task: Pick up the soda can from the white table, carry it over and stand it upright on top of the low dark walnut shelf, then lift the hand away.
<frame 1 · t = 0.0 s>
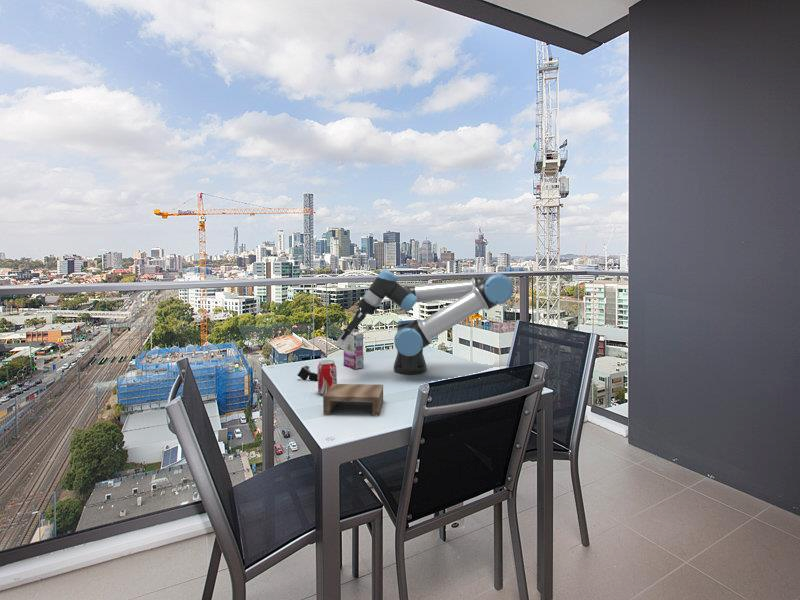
hand: (341, 342, 173), 15 cm above the table, tool tilted 35°, fingers open, 13 cm apart
lighter: (308, 380, 171), on the table
soda can: (327, 393, 153), on the table
candy bar box: (353, 367, 193), on the table
walnut shelf: (354, 407, 138), on the table
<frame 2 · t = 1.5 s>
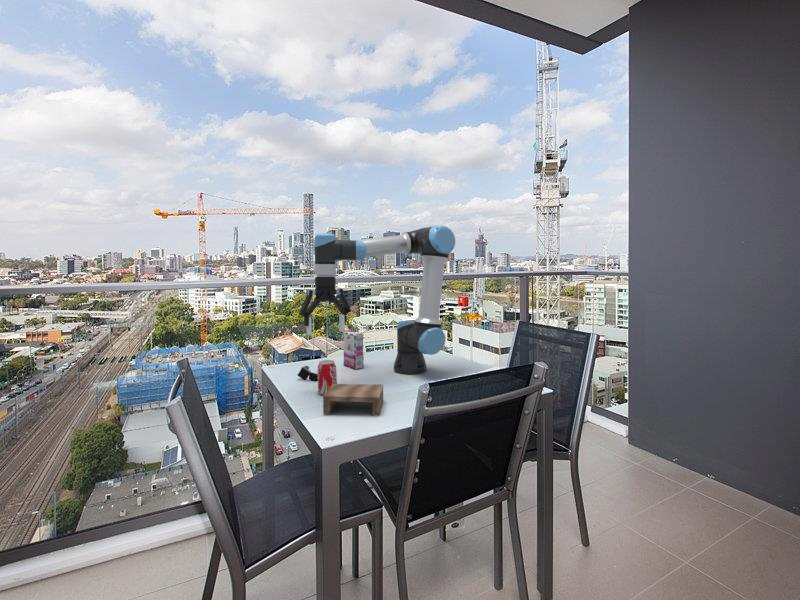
hand: (326, 333, 151), 23 cm above the table, tool pointing down, fingers open, 13 cm apart
nothing on the table moved.
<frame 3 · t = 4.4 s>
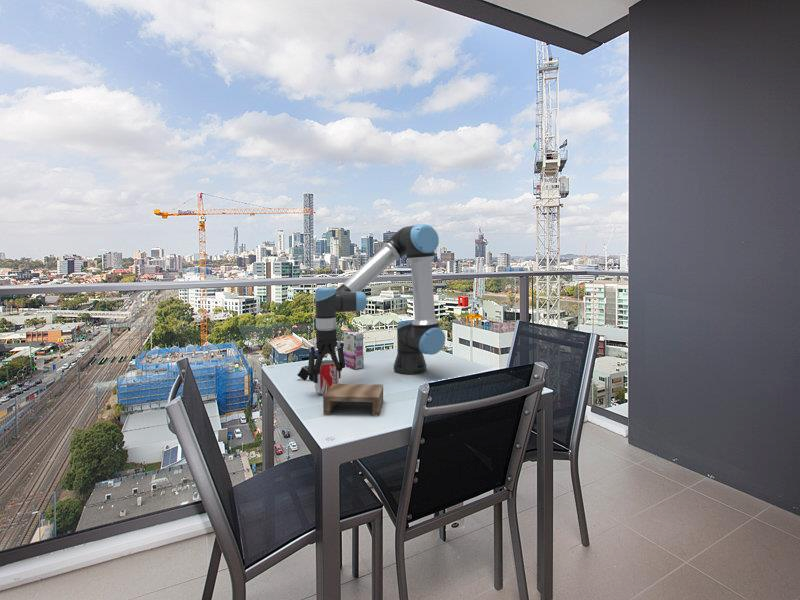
hand: (327, 389, 153), 2 cm above the table, tool pointing down, fingers closed on soda can, 7 cm apart
soda can: (327, 393, 153), on the table, touching gripper
everything else where it was.
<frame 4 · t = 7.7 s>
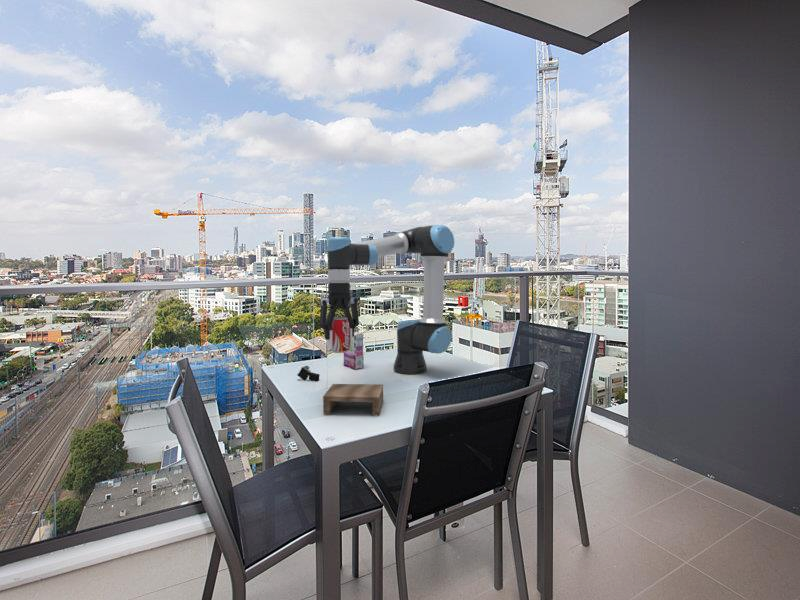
hand: (339, 347, 143), 19 cm above the table, tool pointing down, fingers closed on soda can, 7 cm apart
soda can: (339, 352, 143), point 18 cm above the table, touching gripper
everything else where it was.
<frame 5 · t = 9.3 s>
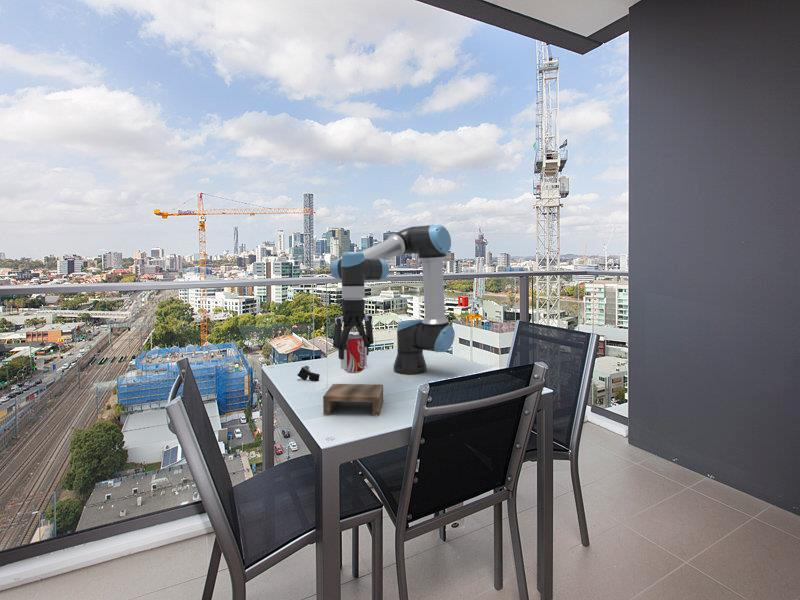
hand: (354, 366, 136), 14 cm above the table, tool pointing down, fingers closed on soda can, 7 cm apart
soda can: (354, 372, 136), point 12 cm above the table, touching gripper
everything else where it was.
when the fingers open (9 cm above the table, at t = 10.9 s): soda can drops 1 cm, resting on walnut shelf.
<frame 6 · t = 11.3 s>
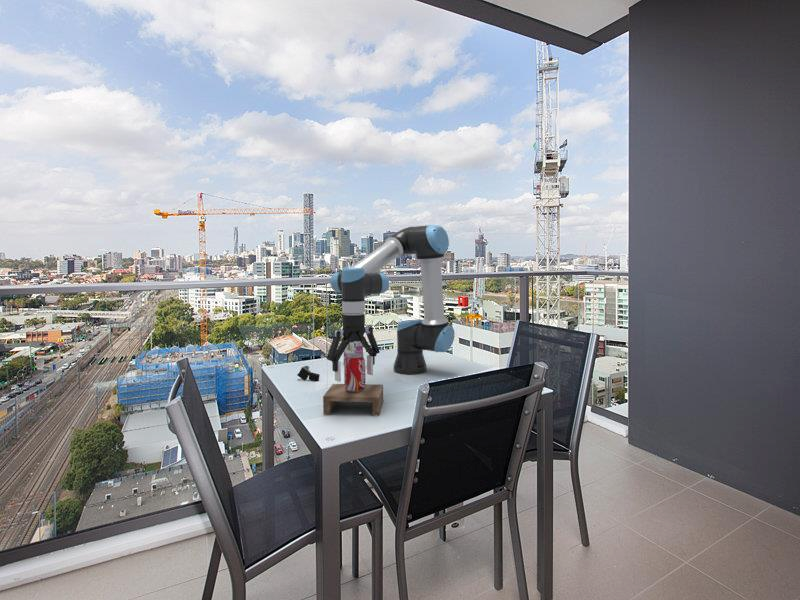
hand: (354, 377, 137), 10 cm above the table, tool pointing down, fingers open, 12 cm apart
soda can: (354, 390, 137), point 6 cm above the table, touching walnut shelf
everything else where it was.
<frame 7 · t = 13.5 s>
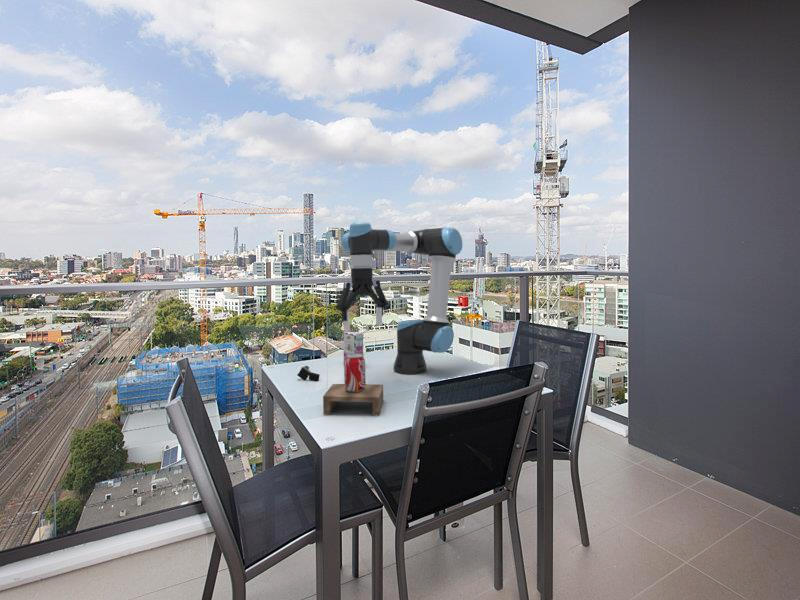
hand: (363, 327, 144), 26 cm above the table, tool pointing down, fingers open, 13 cm apart
nothing on the table moved.
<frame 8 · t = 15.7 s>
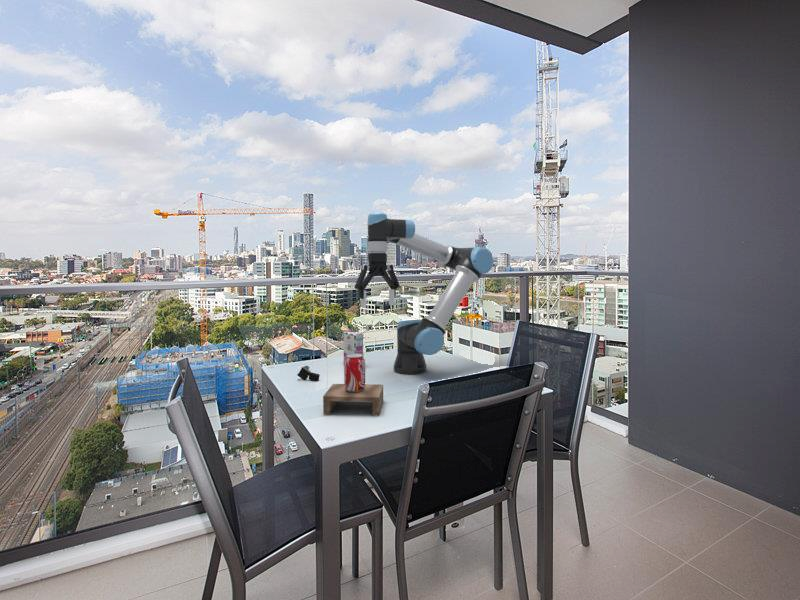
hand: (378, 306, 162), 32 cm above the table, tool pointing down, fingers open, 13 cm apart
nothing on the table moved.
at the end: soda can inside the target area on the walnut shelf (0.1 cm from its centre), point 5.8 cm above the walnut shelf's base; soda can tilted 0°; the gripper is holding nothing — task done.
